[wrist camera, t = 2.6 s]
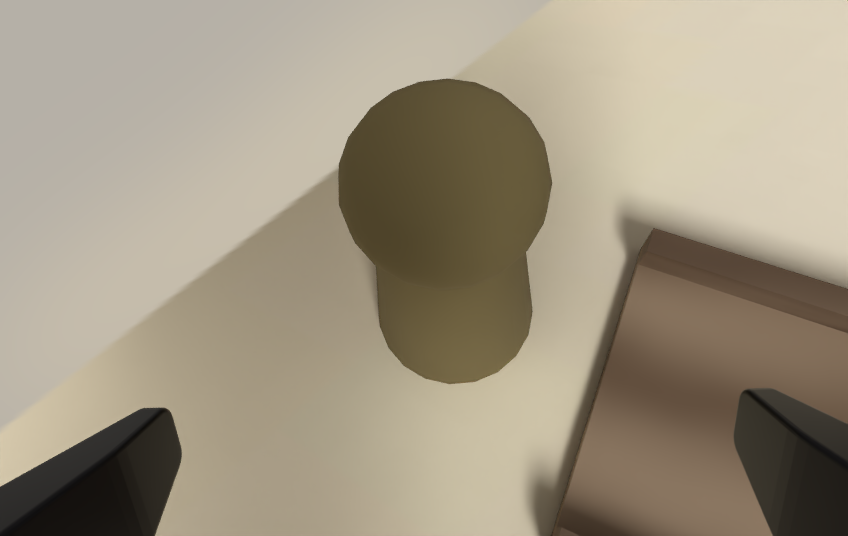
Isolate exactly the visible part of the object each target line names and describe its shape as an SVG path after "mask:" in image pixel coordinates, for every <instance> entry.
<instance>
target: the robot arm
mask: <svg viewBox="0 0 848 536" xmlns="http://www.w3.org/2000/svg"><path fill="white" fill-rule="evenodd" d="M733 436H734V444H735V448H736V451H737V453H738V455H739V458H740V460H741V463H742V465H743V467H744V470H745V472H746V474H747V477H748V479H749V481H750V484H751V486H752V489H753V491H754V493H755V496H756V498H757V500H758V503H759V505H760V507H761V510H762V512H763V515H764V517H765V519H766V522H767V524H768V526H769V528H770V531H771V533H772V535H773V536H848V424H847V423H845V422H843V421H841V420H839V419H837V418H835V417H833V416H830V415H828V414H826V413H824V412H822V411H820V410H818V409H816V408H814V407H811V406H809V405H807V404H805V403H803V402H801V401H799V400H797V399H795V398H792V397H790V396H788V395H786V394H784V393H782V392H780V391H778V390H776V389H773V388H749V389H745V390H743V391H742V392H741V394H740V397H739V402H738V408H737V414H736V420H735V426H734V434H733ZM181 457H182V451H181V445H180V442H179V438H178V434H177V431H176V427H175V424H174V420H173V417H172V414H171V412H170V411H169V410H168V409H166V408H143V409H140V410H138V411H136V412H134V413H132V414H131V415H129V416H127V417H125V418H123V419H122V420H120V421H118V422H116V423H114V424H112V425H111V426H109V427H107V428H105V429H103V430H102V431H100V432H98V433H96V434H94V435H93V436H91V437H89V438H87V439H85V440H84V441H82V442H80V443H78V444H76V445H75V446H73V447H71V448H69V449H67V450H66V451H64V452H62V453H60V454H58V455H57V456H55V457H53V458H51V459H49V460H48V461H46V462H44V463H42V464H40V465H39V466H37V467H35V468H33V469H31V470H30V471H28V472H26V473H24V474H22V475H21V476H19V477H17V478H15V479H13V480H12V481H10V482H8V483H6V484H4V485H3V486H1V487H0V536H155V534H156V531H157V528H158V525H159V522H160V520H161V517H162V514H163V511H164V508H165V506H166V503H167V500H168V497H169V494H170V491H171V489H172V486H173V483H174V480H175V477H176V475H177V472H178V469H179V466H180V463H181Z"/></svg>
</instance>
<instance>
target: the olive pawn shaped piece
mask: <svg viewBox="0 0 848 536" xmlns="http://www.w3.org/2000/svg"><path fill="white" fill-rule="evenodd" d="M551 186H552V179H551V174H550V168H549V163H548V158H547V153H546V148H545V144H544V141H543V139H542V138H541V136H540V134H539V133H538V131H537V129H536V128H535V126H534V125H533V123H532V121H531V120H530V118H529V117H528V116H527V115H526V114H525V113H523V112H522V111H521V110H520V109H519V108H518V107H516V106H515V105H514V104H513V103H512V102H510V101H509V100H508V99H507V98H506V97H504V96H503V95H502V94H501V93H499V92H496V91H494V90H492V89H489V88H487V87H485V86H482V85H480V84H478V83H475V82H468V81H461V80H453V79H442V80H432V81H423V82H418V83H416V84H413V85H410V86H407V87H405V88H402V89H399V90H397V91H394V92H392V93H391V94H389V95H388V96H387V97H385V98H384V99H383V100H381V101H380V102H378V103H377V104H376V105H374V106H373V107H372V108H371V109H370V110H369V111H368V112H367V114H366V115H365V116H364V118H363V119H362V120H361V121H360V123H359V124H358V125H357V127H356V128H355V129H354V131H353V132H352V133H351V135H350V136H349V137H348V140H347V143H346V146H345V149H344V151H343V154H342V157H341V160H340V163H339V206H340V208H341V211H342V213H343V216H344V218H345V221H346V223H347V226H348V228H349V231H350V233H351V235H352V237H353V240H354V242H355V243H356V244H357V245H358V247H359V248H360V249H361V250H362V251H363V252H364V253H365V254H366V255H367V257H368V258H369V259H370V260H371V261H372V262H373V263H374V264H375V265H376V273H377V289H378V304H379V319H380V327H381V330H382V332H383V335H384V337H385V340H386V342H387V345H388V348H389V349H390V350H391V351H392V352H393V353H394V355H395V356H396V357H397V358H398V359H399V360H400V362H401V363H402V364H403V365H404V366H405V367H407V368H409V369H410V370H412V371H414V372H415V373H417V374H419V375H420V376H422V377H424V378H426V379H430V380H434V381H439V382H443V383H447V384H455V383H466V382H475V381H478V380H480V379H482V378H485V377H487V376H489V375H492V374H494V373H496V372H498V371H499V370H501V369H502V368H503V367H504V366H505V365H506V364H507V363H509V362H510V361H511V360H512V359H513V358H514V357H515V356H516V355H517V354H518V352H519V350H520V348H521V347H522V345H523V343H524V341H525V340H526V338H527V336H528V333H529V328H530V323H531V317H532V303H531V294H530V285H529V276H528V267H527V258H526V251H527V250H528V249H529V247H530V245H531V244H532V242H533V240H534V239H535V237H536V235H537V234H538V232H539V230H540V229H541V227H542V225H543V223H544V220H545V216H546V213H547V208H548V202H549V197H550V191H551Z"/></svg>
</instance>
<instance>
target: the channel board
mask: <svg viewBox="0 0 848 536" xmlns="http://www.w3.org/2000/svg"><path fill="white" fill-rule="evenodd" d="M749 388H773V389H776V390H778V391H780V392H782V393H784V394H786V395H788V396H790V397H792V398H795V399H797V400H799V401H801V402H803V403H805V404H807V405H809V406H811V407H814V408H816V409H818V410H820V411H822V412H824V413H826V414H828V415H830V416H833V417H835V418H837V419H839V420H841V421H843V422H845V423H847V424H848V289H845V288H842V287H839V286H836V285H833V284H830V283H826V282H823V281H820V280H817V279H814V278H811V277H807V276H804V275H801V274H798V273H795V272H791V271H788V270H785V269H782V268H779V267H776V266H772V265H769V264H766V263H763V262H760V261H756V260H753V259H750V258H747V257H744V256H741V255H737V254H734V253H731V252H728V251H725V250H721V249H718V248H715V247H712V246H709V245H706V244H702V243H699V242H696V241H693V240H690V239H686V238H683V237H680V236H677V235H674V234H671V233H667V232H664V231H661V230H658V229H655V228H654V229H653V230H652V232H651V234H650V235H649V237H648V238H647V240H646V241H645V243H644V245H643V246H642V248H641V250H640V253H639V257H638V260H637V263H636V266H635V269H634V273H633V276H632V279H631V282H630V285H629V289H628V292H627V295H626V298H625V301H624V305H623V308H622V311H621V314H620V318H619V321H618V324H617V327H616V330H615V334H614V337H613V340H612V343H611V346H610V350H609V353H608V356H607V359H606V362H605V366H604V369H603V372H602V375H601V378H600V382H599V385H598V388H597V391H596V394H595V398H594V401H593V404H592V407H591V410H590V414H589V417H588V420H587V423H586V427H585V430H584V433H583V436H582V439H581V443H580V446H579V449H578V452H577V455H576V459H575V462H574V465H573V468H572V471H571V475H570V478H569V481H568V484H567V487H566V491H565V494H564V497H563V500H562V503H561V507H560V510H559V513H558V516H557V520H556V523H555V526H554V529H553V532H552V536H773V535H772V533H771V531H770V528H769V526H768V524H767V522H766V519H765V517H764V515H763V512H762V510H761V507H760V505H759V503H758V500H757V498H756V496H755V493H754V491H753V489H752V486H751V484H750V481H749V479H748V477H747V474H746V472H745V470H744V467H743V465H742V463H741V460H740V458H739V455H738V453H737V451H736V448H735V444H734V436H733V434H734V426H735V420H736V414H737V408H738V402H739V397H740V394H741V392H742V391H743V390H745V389H749Z"/></svg>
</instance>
